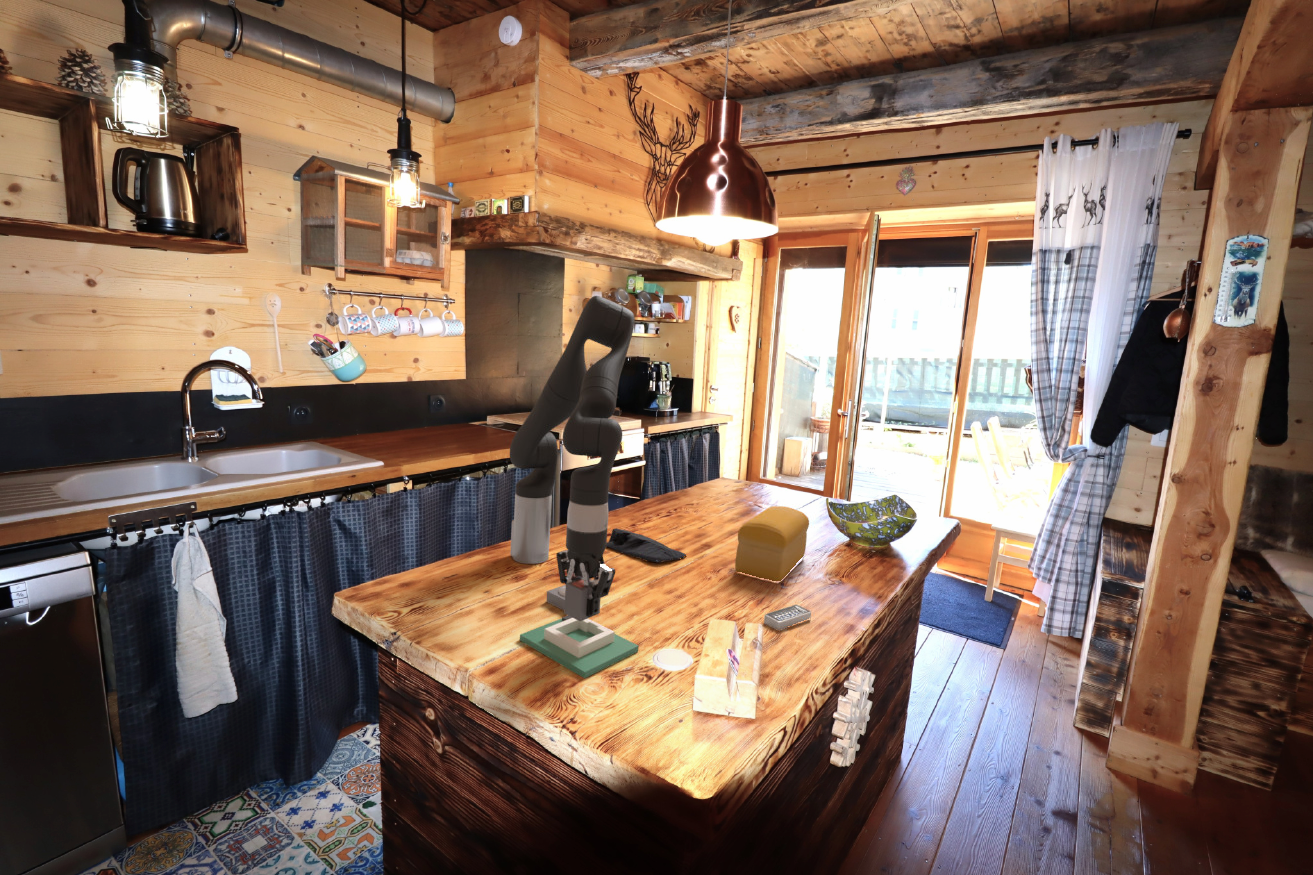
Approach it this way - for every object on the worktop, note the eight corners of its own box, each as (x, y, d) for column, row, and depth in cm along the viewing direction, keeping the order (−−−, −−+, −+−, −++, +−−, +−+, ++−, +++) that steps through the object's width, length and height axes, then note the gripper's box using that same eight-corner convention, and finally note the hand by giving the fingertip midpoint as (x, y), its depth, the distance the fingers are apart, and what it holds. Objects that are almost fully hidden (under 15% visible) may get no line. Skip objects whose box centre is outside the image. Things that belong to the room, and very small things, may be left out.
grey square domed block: (546, 601, 137) (547, 588, 136) (573, 592, 143) (574, 579, 143) (571, 614, 132) (571, 600, 131) (597, 603, 138) (598, 590, 138)
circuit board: (519, 640, 119) (520, 624, 119) (573, 618, 130) (574, 604, 129) (584, 678, 108) (585, 661, 107) (638, 651, 119) (639, 635, 118)
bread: (762, 548, 185) (768, 499, 182) (805, 558, 179) (811, 508, 177) (732, 573, 163) (738, 518, 161) (780, 585, 158) (787, 528, 155)
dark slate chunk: (653, 570, 162) (654, 553, 161) (597, 546, 177) (598, 530, 176) (691, 558, 173) (693, 542, 172) (636, 536, 188) (637, 521, 187)
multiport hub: (762, 623, 136) (763, 614, 135) (795, 613, 142) (796, 603, 142) (778, 632, 132) (779, 622, 132) (811, 621, 139) (812, 611, 139)
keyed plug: (564, 613, 117) (565, 582, 116) (586, 604, 122) (588, 574, 121) (580, 621, 115) (582, 589, 114) (602, 612, 119) (604, 581, 118)
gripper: (629, 530, 114) (623, 618, 116) (576, 512, 122) (571, 594, 125) (600, 538, 108) (594, 630, 111) (546, 518, 117) (542, 604, 119)
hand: (582, 610), depth 118 cm, fingers closed on keyed plug, 4 cm apart
